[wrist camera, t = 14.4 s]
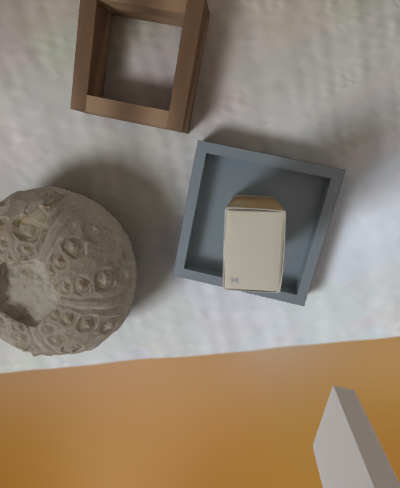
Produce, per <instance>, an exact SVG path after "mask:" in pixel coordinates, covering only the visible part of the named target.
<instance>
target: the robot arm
mask: <svg viewBox="0 0 400 488" xmlns="http://www.w3.org/2000/svg"><path fill="white" fill-rule="evenodd" d="M313 450H314V453H315V458H316V462H317V466H318V470H319V474H320V478H321V481H322V486H323V488H400V483H399V481H398V479H397V477H396V475H395V473H394V471H393V469H392V467H391V465H390V463H389V461H388V459H387V456H386V455H385V452H384V450H383V448H382V446H381V444H380V442H379V440H378V438H377V436H376V434H375V432H374V430H373V428H372V426H371V424H370V422H369V419H368V417H367V416H366V413H365V411H364V409H363V407H362V405H361V403H360V401H359V399H358V397H357V395H356V393H355V391H354V390H351V389H346V388H342V387H338V386H333V387H332V390H331V393H330V396H329V399H328V402H327V405H326V408H325V411H324V414H323V417H322V420H321V423H320V426H319V429H318V432H317V435H316V438H315V441H314V444H313Z"/></svg>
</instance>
